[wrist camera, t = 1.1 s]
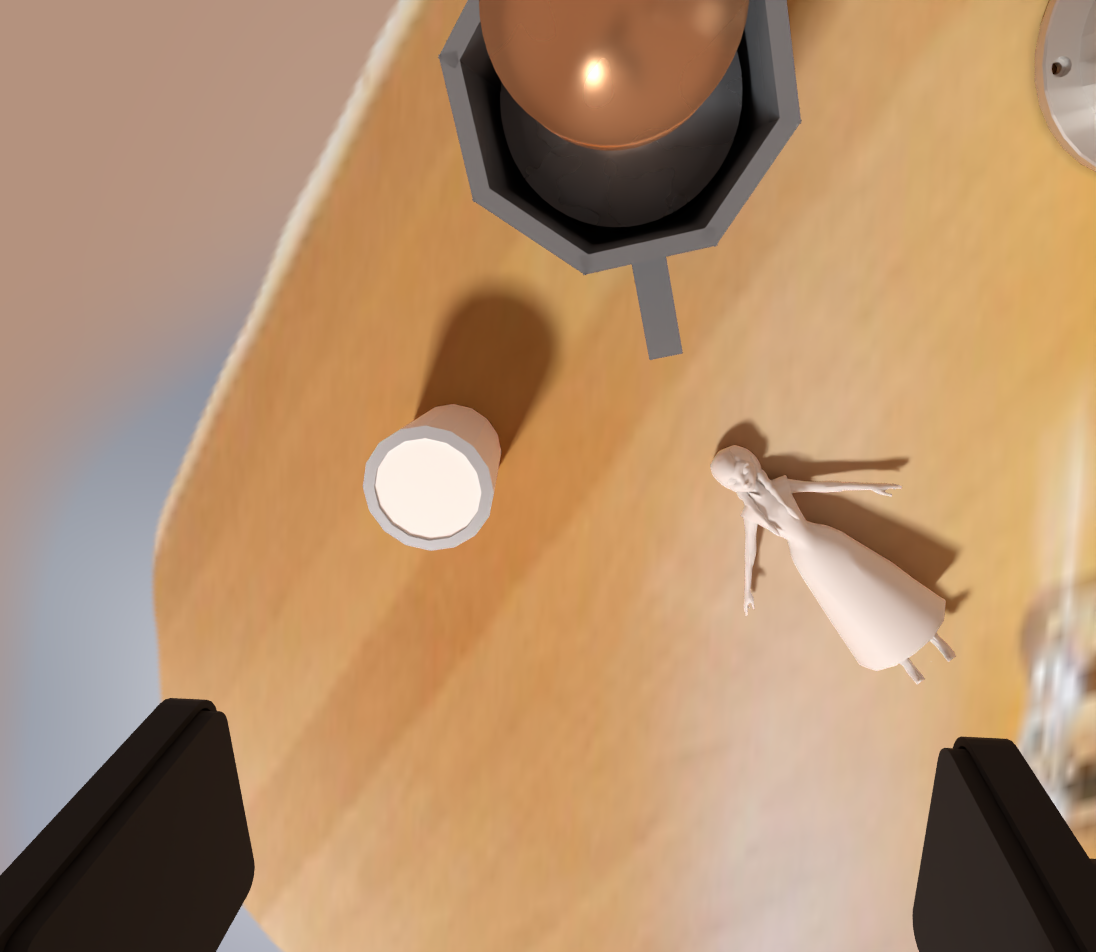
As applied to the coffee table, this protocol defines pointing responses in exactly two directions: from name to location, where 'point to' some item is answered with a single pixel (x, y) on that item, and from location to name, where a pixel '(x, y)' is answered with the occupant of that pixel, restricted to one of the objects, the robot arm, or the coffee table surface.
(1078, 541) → the coffee table surface
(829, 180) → the coffee table surface
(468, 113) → the press pot
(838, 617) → the woman figurine
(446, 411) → the white cylinder
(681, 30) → the plunger
